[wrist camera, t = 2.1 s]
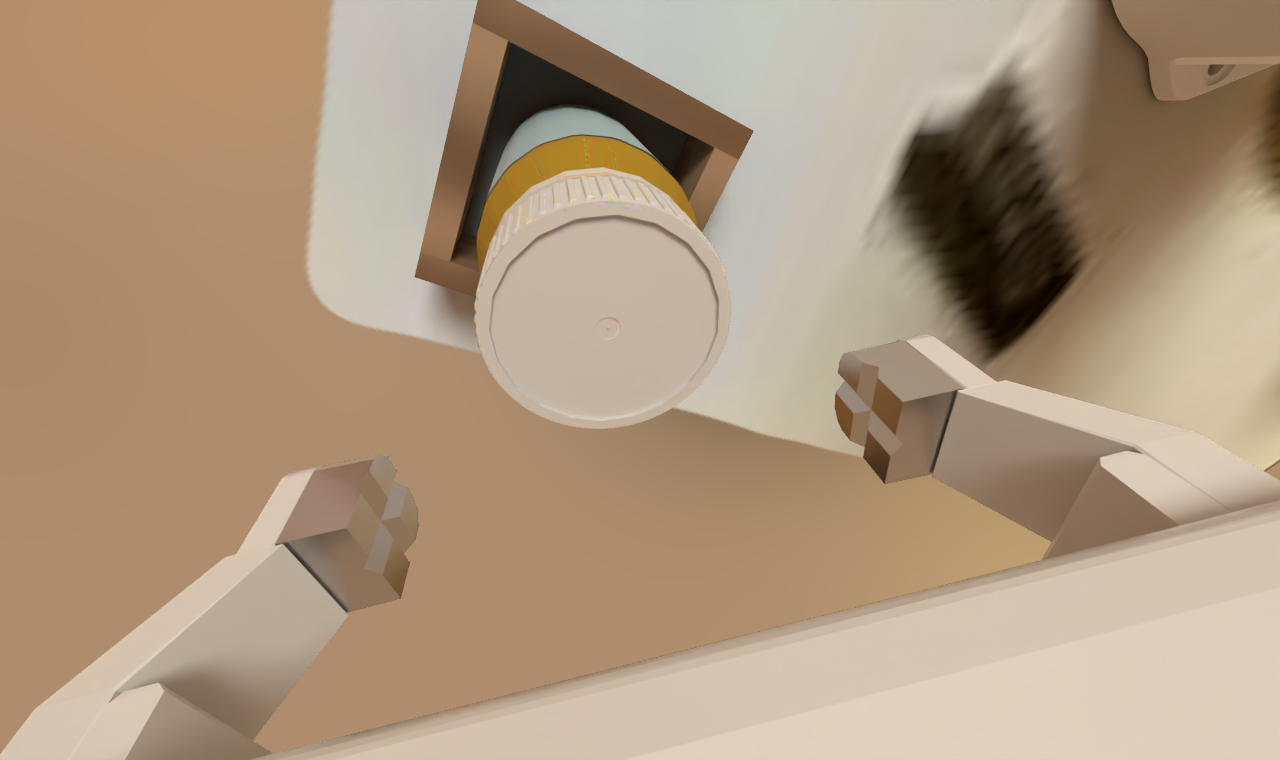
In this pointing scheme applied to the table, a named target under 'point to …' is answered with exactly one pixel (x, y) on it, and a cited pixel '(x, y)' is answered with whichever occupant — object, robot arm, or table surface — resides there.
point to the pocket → (511, 22)
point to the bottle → (594, 275)
